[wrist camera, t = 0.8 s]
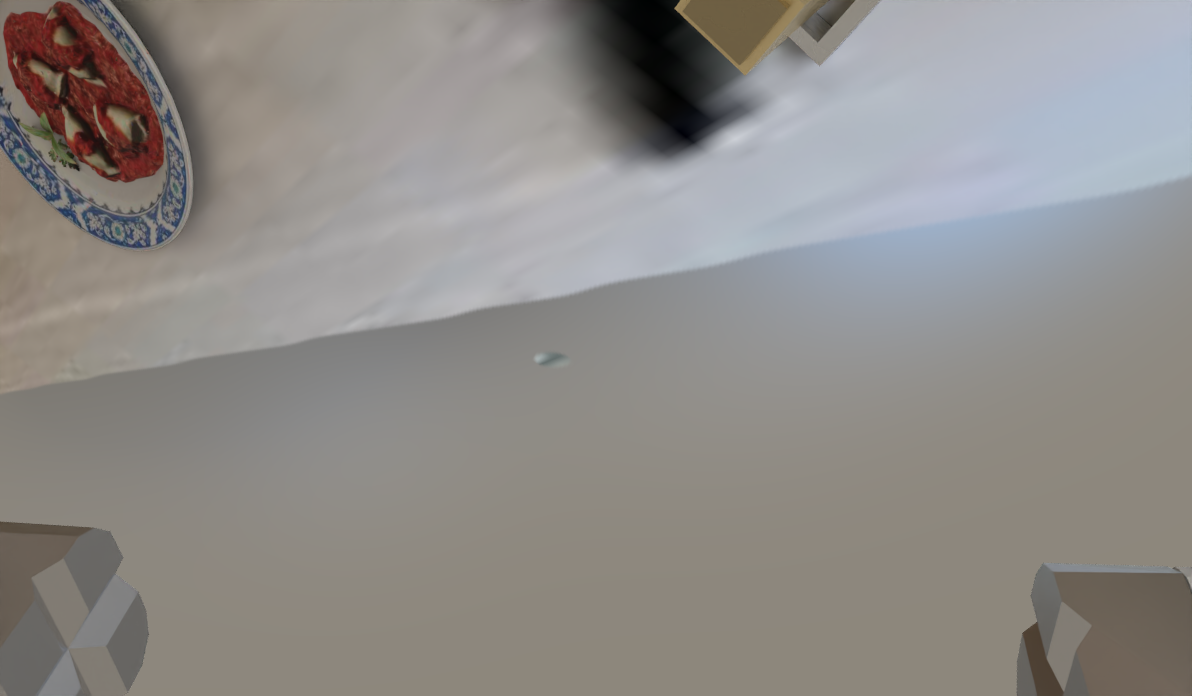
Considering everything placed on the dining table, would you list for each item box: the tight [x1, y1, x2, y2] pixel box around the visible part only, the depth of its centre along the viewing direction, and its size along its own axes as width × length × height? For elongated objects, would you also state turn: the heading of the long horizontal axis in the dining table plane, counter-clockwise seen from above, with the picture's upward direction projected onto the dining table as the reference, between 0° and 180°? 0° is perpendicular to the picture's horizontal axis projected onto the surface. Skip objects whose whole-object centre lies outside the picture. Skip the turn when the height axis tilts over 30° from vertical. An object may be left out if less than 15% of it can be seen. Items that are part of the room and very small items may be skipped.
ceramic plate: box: [0, 0, 193, 251], centre depth 86 cm, size 26×26×3 cm
